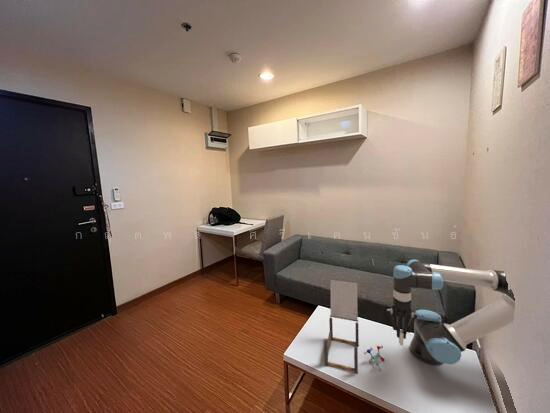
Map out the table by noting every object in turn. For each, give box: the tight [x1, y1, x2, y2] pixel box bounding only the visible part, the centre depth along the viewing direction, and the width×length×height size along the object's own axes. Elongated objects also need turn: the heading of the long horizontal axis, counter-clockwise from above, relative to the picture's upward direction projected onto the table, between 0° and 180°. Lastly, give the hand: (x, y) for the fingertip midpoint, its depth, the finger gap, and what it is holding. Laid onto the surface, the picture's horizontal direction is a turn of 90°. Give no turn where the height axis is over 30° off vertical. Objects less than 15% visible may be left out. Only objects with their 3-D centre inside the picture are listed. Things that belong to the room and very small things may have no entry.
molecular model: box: [363, 345, 385, 371], centre depth 114 cm, size 12×10×10 cm
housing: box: [323, 317, 360, 375], centre depth 120 cm, size 16×20×14 cm
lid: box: [329, 279, 359, 323], centre depth 130 cm, size 16×22×1 cm
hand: (401, 343), depth 109 cm, fingers closed
